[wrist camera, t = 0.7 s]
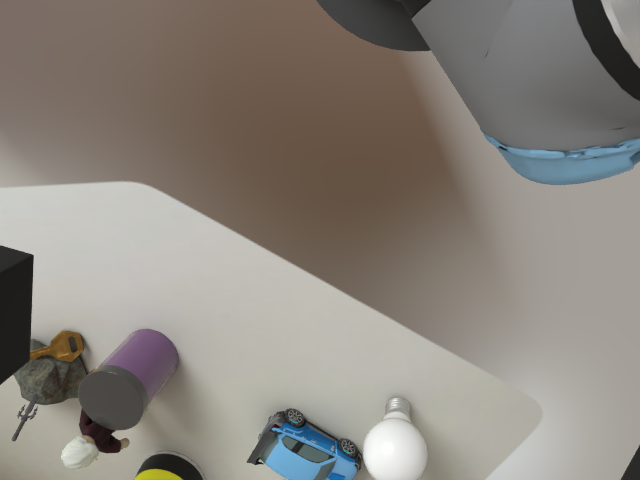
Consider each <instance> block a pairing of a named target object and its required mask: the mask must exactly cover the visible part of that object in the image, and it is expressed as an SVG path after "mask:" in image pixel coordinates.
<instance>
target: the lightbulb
mask: <svg viewBox="0 0 640 480" xmlns="http://www.w3.org/2000/svg"><path fill="white" fill-rule="evenodd" d="M363 459H364V463H365V466H366V468H367V470H368V472H369V473H370V474H371V476H372V477H373V478H374V479H375V480H418V479H419V478H420V477H421V475H422V474H423V472H424V470H425V468H426V465H427V460H428V450H427V445H426V442H425V440H424V438H423V436H422V434H421V433H420V431H419V430H418V429H417V428H416V427H415V426H414V425H412V422H411V420H410V405H409V403H408V402H407V401H406V400H404V399H402V398H392V399H390V400H389V401H388V402H387V404H386V410H385V416H384V418H383V419H382V421H381V422H379V423H377V424H376V425H375V426H374V427H372V429H371V430H370V431H369V432H368V434H367V436H366V438H365V441H364V444H363Z"/></svg>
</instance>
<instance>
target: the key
mask: <svg viewBox="0 0 640 480" xmlns="http://www.w3.org/2000/svg"><path fill="white" fill-rule="evenodd" d="M72 336H74V337H75V340H76V344H77V348H78V351H77V352H75V353H73V352H72V350H71V346H70V342H69V338H70V337H72ZM50 345H51V346H48V347H44V348H41V349H38V350H34V351H31V352H30V359H33V360H37V358H38V357H41V355H45V356H46V355H47V354H50V355H51V356H53V357H54V358H55V359H57V360H62V361H67V362H72V361H74V360H75V359H76V358H77V357H78V356H79V355H80V354H81V353H82V352H83V350H84V345H83V342H82V338H81V335H80V334H79V333H75V332H70V331H62V332H60V333H59V334H58V335H57V336H56V337H55V338H54V339H53V340H52V341H51V344H50Z"/></svg>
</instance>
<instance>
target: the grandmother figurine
mask: <svg viewBox="0 0 640 480" xmlns="http://www.w3.org/2000/svg"><path fill="white" fill-rule="evenodd" d="M79 427H80V430H81V433H82V435H81V436H78V437H76V438H75V439H74V440H72V441H70V443H69V444H67V445H66V447H65V449H63V452H62V457H61V459H62V461H63V462H64V465H65V466H67V467H68V468H70V469H80V468H83V467H86V466H89V465H90V464H91V463H92V462H93V461H94V460H97V456H98V454H99V451H100V452H104V453H118V452H120V450H121V449H123V448H126V447H128V445H129V440H128V439H127V438H124V439H122V440H118V439H116V438H114V437H113V436H112V435H111V434H112V433H113V432H115V431H116V430H112V429H108V428H105V427H103V426H101V425H99V424H97V423H96V422H95V421H93V420H92V419H91V418H90V417H89V416H88V415H87V414H86V413H85V411H84V410H83V408H82V411H81V417H80V423H79Z"/></svg>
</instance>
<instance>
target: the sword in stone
mask: <svg viewBox="0 0 640 480" xmlns="http://www.w3.org/2000/svg"><path fill="white" fill-rule="evenodd" d="M44 347H46V346H44V345H43V344H41V343H39V342H38V341H36V340H30V352H31V351H34V350H38V349H41V348H44ZM13 375H14V377H15V378H16V380H17V382H18V384H19V386H20V389H21V395H22V397H23V398H24V399H26V400H28V401H30V404H29V406H28V407H27V409H26V411H25V412H26V414H25V415H21V413H22V411H23V410H24V409H23V408H24V407H25V405H24V406H23V407H22V408H21V410H22V411H21V412H20V411H19V413H18V415H17V416H18V419H19V416H21V417H22V418H21V420H22V421H21V423H20V424H19V427H18V429H17V430H16V433H15V434H14V436H13V437H12V441H15V440H16V439H17V437H18V435H19V432H20V431H21V429H22V426H23V424H24V423H25V421H27V418H30V417H31V418H30V419H32V418H33V417H34V415H36V413H35V411H37V408H36V409H34V413H33V415H31V416H28V414H29V413H30V412H31V411H32V409H33V407H34V405H35V404H41V405H49V404H55V403H60V402H63V401H65V400H67V399H69V398H78V397H79V396H78V391H79V386H80V383H81V381H82V380H83V379H84V378H85V377H86V376H87V374H86V372H85V370H84V367H83V365H82V363H81V360H80V358H79V356H78V357H77V358H76V359H75V360H74V361H72V362H67V361H62V360H57V359H55V358H54V357H53V356H51V355H50V354H47V355H46V356H45V355H41V357H38V358H37V360H33V359H30V361H29V362H28V363H26V364H25V365H24V366H23V367H22V368H20V369H19V370H18V371H17V372H15V373H14V374H13Z"/></svg>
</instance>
